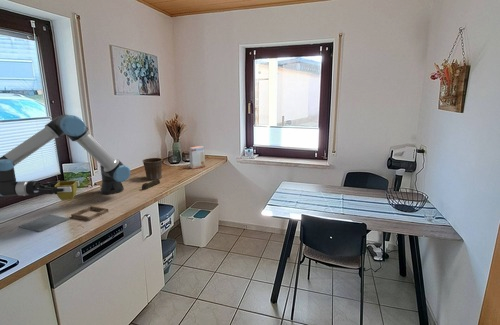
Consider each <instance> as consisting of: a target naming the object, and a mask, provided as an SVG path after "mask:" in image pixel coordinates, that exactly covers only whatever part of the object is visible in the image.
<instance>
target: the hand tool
mask: <svg viewBox="0 0 500 325" xmlns="http://www.w3.org/2000/svg"><path fill="white" fill-rule="evenodd" d="M160 183H161V181H160V179H156V180H152V181H151V180H150V182H145V183H143V184H142V185H141V191H145V190H148V189H149V188H150V187H153V186H155V185H159V184H160Z"/></svg>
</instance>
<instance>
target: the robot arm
mask: <svg viewBox="0 0 500 325" xmlns="http://www.w3.org/2000/svg"><path fill="white" fill-rule="evenodd" d="M64 135H65V136H66V137H67V138H68V139H69V140H71V142H75V143H77V144H79V145H80V146H81V148H83V149H84V150H85V151H86V152H87V153H88V154H89V155H90V156H91V157H92V158H93V159H94V160H95V161H97V162H98V163H99V164H100V174H101V175H100V176H101V187H100V193H101V194H104V195H113V194H118V193H121V192H124V185H123V183H124V182H126V181H127V180H128V179H129V178H130V177H131V169H130V168H129V166H127V165H125V164H123V162H122V161H120V159H118V158H114V157H113V156H112V155H111V153H109V152H108V151H107V149H105V148H104V146H103V145H101V144H100V143H99V142H98V141H97V140H96V138H95V137H93V135H92V134H90V129H89V127H87V126H86V123H85V121H84V120H83V119H82V118H80V117H79V116H77V115H71V114H61V115H58V116H56V117H55V118H54V119H52V120H51V121H49V122H47V123H45V125H44V128H43V129H41V130H40V131H38V132H37V133H35V134H33V135H32V136H30V137H28V138H27V139H26V140H24V141H23V142H21V143H20V144H18V145H17V146H15V147H14V148H12V149H11V150H10V151H8V152H7V153H5V154H3V155H2V156H0V197H12V196H13V197H16V196H23V197H26V196H36V195H37V196H38V195H40V194H43V195H57V192H72V190H71V187H57V189H56V188H55V187H54V186H55V185H56V184H57V183H58V182H65V181H68V180H67V179H65V180H55V181H46V182H43V183H41V182H40V181H39V180H29V181H28V180H23V181H21V180H20V181H17V178H16V173H15V172H16V171H15V166H16V165H18V164H19V163H21V162H22V161H23V160H25V159H26V158H28V157H29V156H31V155H32V154H34V153H35V152H37V151H38V150H39V149H41V148H42V147H44V146H45V145H46V144H48V143H49V142H51V141H53V140H54V139H57V138H60V137H61V136H64ZM76 181H77V187H80V181H79V180H76Z"/></svg>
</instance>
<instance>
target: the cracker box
mask: <svg viewBox="0 0 500 325" xmlns="http://www.w3.org/2000/svg"><path fill="white" fill-rule="evenodd" d="M188 150H189V152H188V153H189V168H190V169H192V170H197V169H202V168H206V159H205V158H206V157H205V156H206V155H205V151H206V150H205V146H203V145H199V146H198V145H197V146H191V147H189V148H188Z"/></svg>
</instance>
